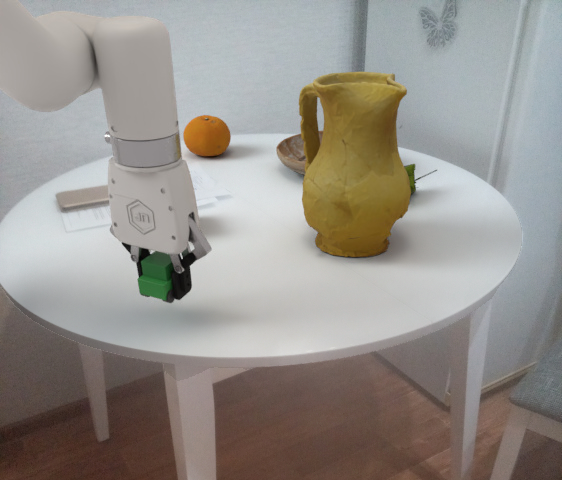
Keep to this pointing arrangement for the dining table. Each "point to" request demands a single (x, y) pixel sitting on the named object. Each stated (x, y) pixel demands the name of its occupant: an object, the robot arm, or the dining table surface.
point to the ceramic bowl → (293, 153)
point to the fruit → (207, 136)
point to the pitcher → (353, 162)
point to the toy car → (157, 277)
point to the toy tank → (413, 176)
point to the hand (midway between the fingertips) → (166, 289)
